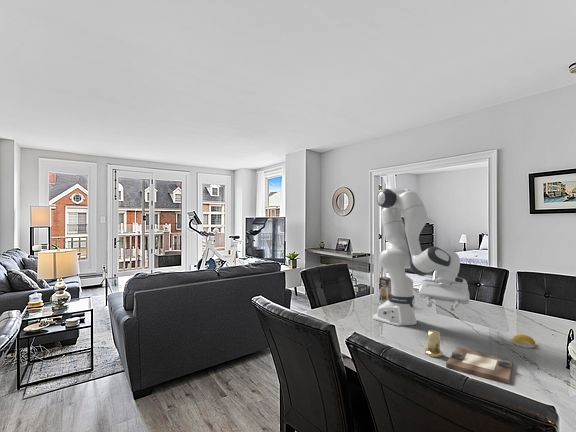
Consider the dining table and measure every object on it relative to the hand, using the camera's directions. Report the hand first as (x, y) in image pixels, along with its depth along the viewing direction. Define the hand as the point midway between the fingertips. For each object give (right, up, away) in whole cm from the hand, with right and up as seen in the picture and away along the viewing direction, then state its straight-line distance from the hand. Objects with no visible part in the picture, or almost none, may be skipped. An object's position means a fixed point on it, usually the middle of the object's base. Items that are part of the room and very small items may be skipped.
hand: (440, 308), depth 136 cm
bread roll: (+37, -16, +1) cm, 40 cm away
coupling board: (+5, -16, -19) cm, 25 cm away
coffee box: (-2, -17, +68) cm, 70 cm away
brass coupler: (-7, -16, -9) cm, 20 cm away
